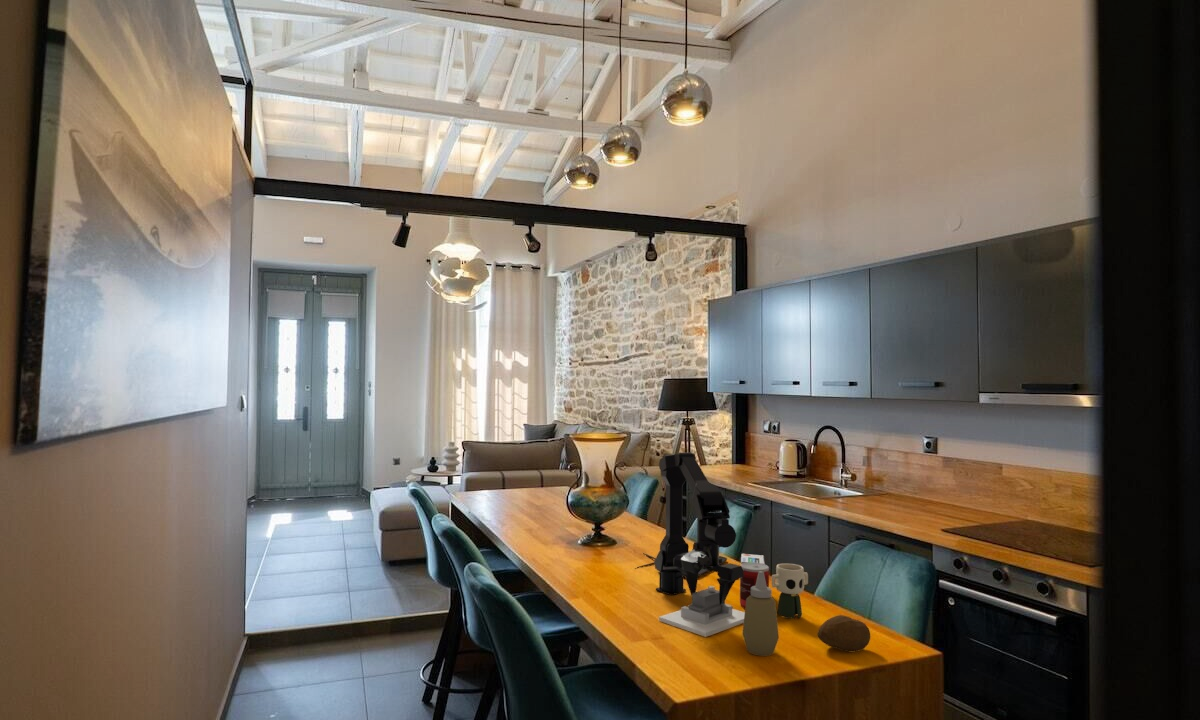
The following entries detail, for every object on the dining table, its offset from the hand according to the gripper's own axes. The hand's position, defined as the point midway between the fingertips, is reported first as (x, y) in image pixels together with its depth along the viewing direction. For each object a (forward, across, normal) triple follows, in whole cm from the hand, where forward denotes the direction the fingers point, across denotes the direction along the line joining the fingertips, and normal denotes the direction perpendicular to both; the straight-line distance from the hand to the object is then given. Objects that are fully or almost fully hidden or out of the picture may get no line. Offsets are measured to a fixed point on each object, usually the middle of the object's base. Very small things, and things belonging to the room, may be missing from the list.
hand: (707, 599), depth 183 cm
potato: (+5, +33, +8) cm, 35 cm away
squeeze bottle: (+5, +21, -8) cm, 23 cm away
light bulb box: (+5, -5, +27) cm, 28 cm away
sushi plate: (+6, -43, +37) cm, 57 cm away
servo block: (+4, 0, 0) cm, 4 cm away
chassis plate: (+5, 0, 0) cm, 5 cm away
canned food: (+5, +1, +19) cm, 20 cm away
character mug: (+5, +12, +19) cm, 23 cm away
